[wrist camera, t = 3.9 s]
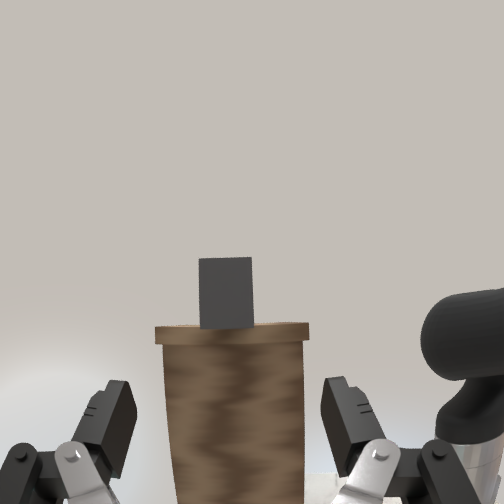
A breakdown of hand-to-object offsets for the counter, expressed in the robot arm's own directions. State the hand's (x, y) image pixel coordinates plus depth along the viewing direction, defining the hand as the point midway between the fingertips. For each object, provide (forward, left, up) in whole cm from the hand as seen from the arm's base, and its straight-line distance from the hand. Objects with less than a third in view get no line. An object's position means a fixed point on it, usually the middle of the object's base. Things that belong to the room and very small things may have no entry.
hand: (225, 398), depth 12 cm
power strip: (0, -17, +3) cm, 17 cm away
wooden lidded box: (0, -22, -29) cm, 37 cm away
